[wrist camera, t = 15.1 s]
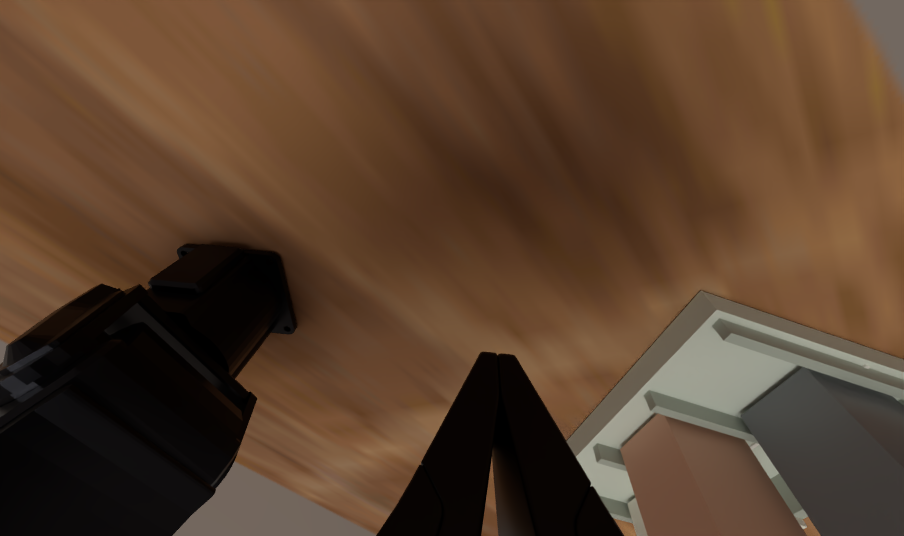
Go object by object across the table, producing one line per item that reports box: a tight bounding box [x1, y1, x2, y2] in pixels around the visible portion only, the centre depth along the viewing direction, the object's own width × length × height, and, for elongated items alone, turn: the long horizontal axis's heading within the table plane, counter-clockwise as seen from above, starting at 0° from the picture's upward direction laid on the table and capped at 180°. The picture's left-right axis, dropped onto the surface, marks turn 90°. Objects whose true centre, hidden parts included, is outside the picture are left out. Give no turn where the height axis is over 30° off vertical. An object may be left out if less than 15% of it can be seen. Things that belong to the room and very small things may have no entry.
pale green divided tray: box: [567, 291, 904, 529], centre depth 25 cm, size 15×21×5 cm
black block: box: [741, 367, 904, 536], centre depth 19 cm, size 6×5×8 cm
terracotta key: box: [620, 414, 807, 536], centre depth 22 cm, size 6×5×8 cm
